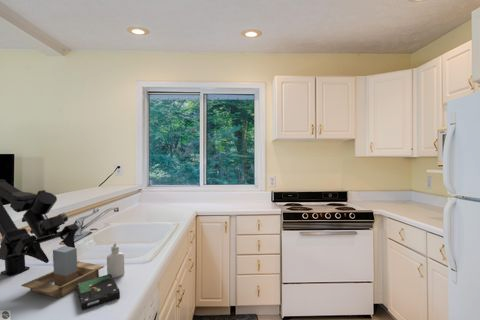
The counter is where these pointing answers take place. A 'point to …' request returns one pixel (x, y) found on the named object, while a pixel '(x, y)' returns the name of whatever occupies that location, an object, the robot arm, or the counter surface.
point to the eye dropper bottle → (115, 262)
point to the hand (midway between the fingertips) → (61, 256)
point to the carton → (43, 287)
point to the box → (64, 265)
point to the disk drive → (97, 291)
